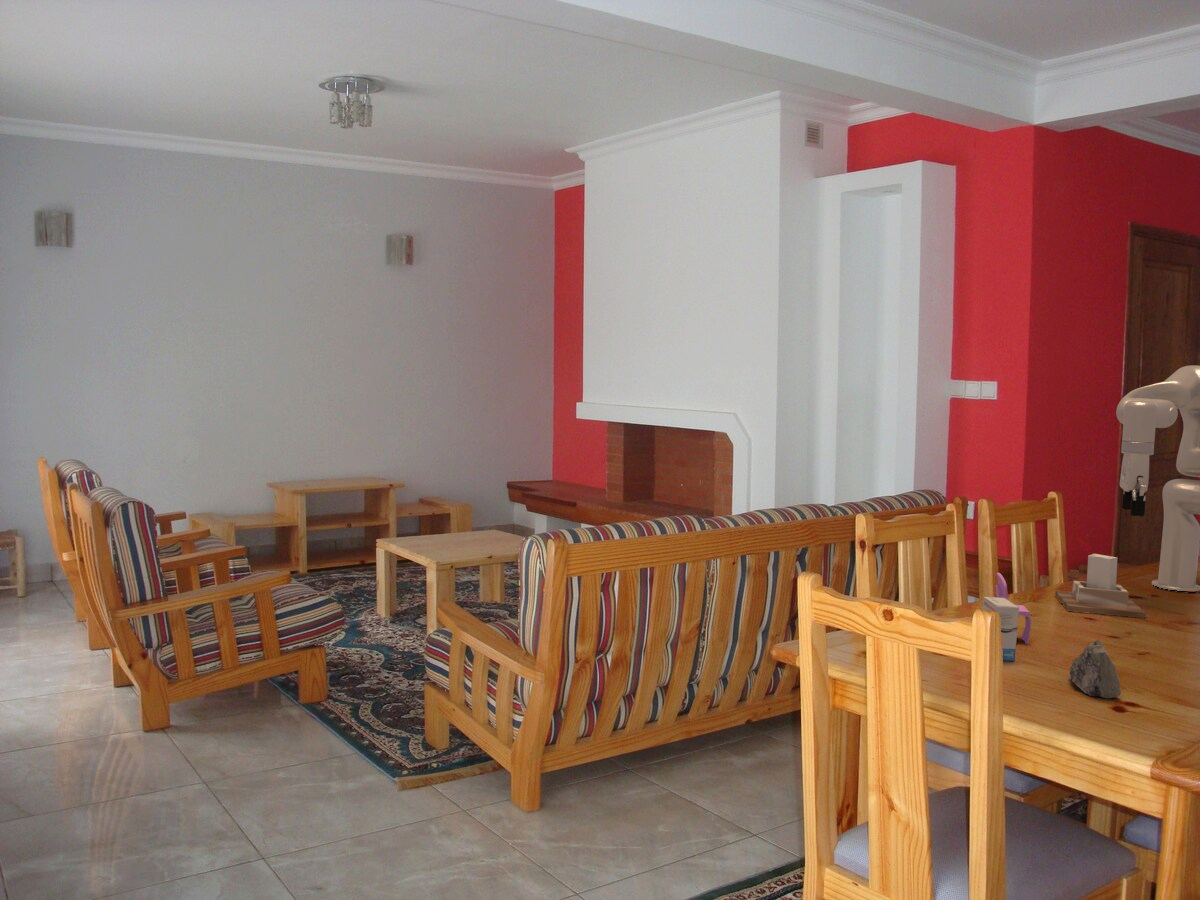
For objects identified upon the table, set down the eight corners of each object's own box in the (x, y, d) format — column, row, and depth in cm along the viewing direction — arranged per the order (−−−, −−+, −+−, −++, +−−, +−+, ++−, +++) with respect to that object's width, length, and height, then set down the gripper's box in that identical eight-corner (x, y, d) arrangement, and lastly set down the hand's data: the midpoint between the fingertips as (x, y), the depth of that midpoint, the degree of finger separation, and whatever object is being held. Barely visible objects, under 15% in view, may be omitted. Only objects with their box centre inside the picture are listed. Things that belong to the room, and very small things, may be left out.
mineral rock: (1073, 675, 209) (1077, 626, 208) (1131, 687, 203) (1136, 637, 202) (1056, 690, 199) (1060, 639, 198) (1117, 703, 192) (1121, 650, 191)
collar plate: (1055, 596, 281) (1056, 576, 281) (1127, 602, 277) (1129, 582, 276) (1067, 611, 264) (1069, 590, 263) (1145, 618, 259) (1147, 597, 259)
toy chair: (1031, 645, 230) (1036, 579, 228) (989, 642, 231) (994, 576, 230) (1023, 636, 238) (1029, 572, 236) (983, 632, 240) (988, 569, 238)
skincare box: (1115, 602, 269) (1119, 557, 268) (1107, 605, 266) (1112, 558, 265) (1091, 598, 274) (1095, 552, 273) (1083, 600, 271) (1087, 554, 270)
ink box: (1015, 661, 217) (1020, 606, 216) (992, 660, 217) (996, 605, 216) (1000, 650, 225) (1005, 597, 224) (978, 648, 225) (982, 596, 224)
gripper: (1114, 443, 279) (1110, 506, 281) (1129, 451, 263) (1124, 517, 265) (1145, 445, 277) (1140, 507, 279) (1162, 452, 261) (1157, 519, 263)
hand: (1132, 512), depth 272 cm, fingers open, 9 cm apart
